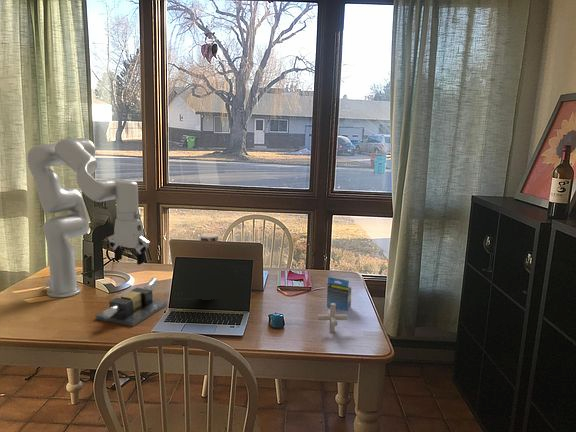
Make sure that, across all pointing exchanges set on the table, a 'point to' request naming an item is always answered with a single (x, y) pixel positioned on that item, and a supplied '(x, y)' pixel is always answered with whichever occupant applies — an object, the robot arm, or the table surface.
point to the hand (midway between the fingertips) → (129, 261)
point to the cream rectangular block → (134, 299)
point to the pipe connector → (332, 317)
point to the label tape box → (339, 293)
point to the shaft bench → (136, 314)
